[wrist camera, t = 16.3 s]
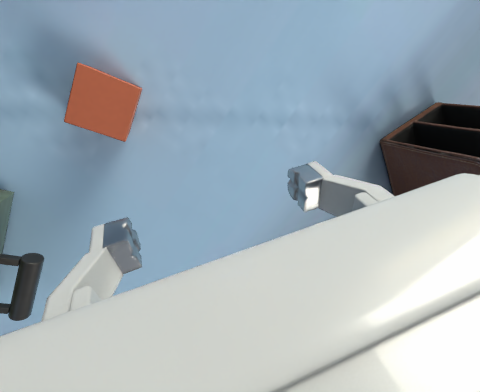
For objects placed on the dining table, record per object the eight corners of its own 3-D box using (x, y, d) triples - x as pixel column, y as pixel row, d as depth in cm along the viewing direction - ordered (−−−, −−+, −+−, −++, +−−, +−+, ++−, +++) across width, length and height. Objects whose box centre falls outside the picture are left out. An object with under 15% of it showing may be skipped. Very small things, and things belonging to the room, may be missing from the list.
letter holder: (403, 239, 45) (498, 296, 33) (377, 139, 36) (496, 167, 24) (449, 206, 46) (560, 251, 34) (435, 101, 37) (581, 108, 24)
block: (142, 88, 26) (140, 88, 22) (129, 133, 27) (125, 142, 23) (89, 66, 24) (77, 62, 20) (77, 116, 25) (63, 121, 21)
